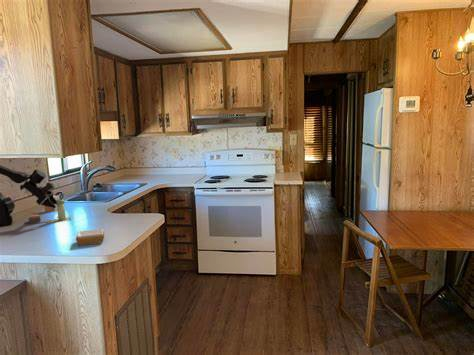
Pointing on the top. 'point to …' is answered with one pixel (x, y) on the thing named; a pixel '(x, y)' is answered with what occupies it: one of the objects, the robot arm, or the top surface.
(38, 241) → the top surface
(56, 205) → the small box
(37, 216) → the button
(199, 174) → the top surface
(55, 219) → the picture board
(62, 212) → the ball
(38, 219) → the button housing
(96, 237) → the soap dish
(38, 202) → the robot arm
